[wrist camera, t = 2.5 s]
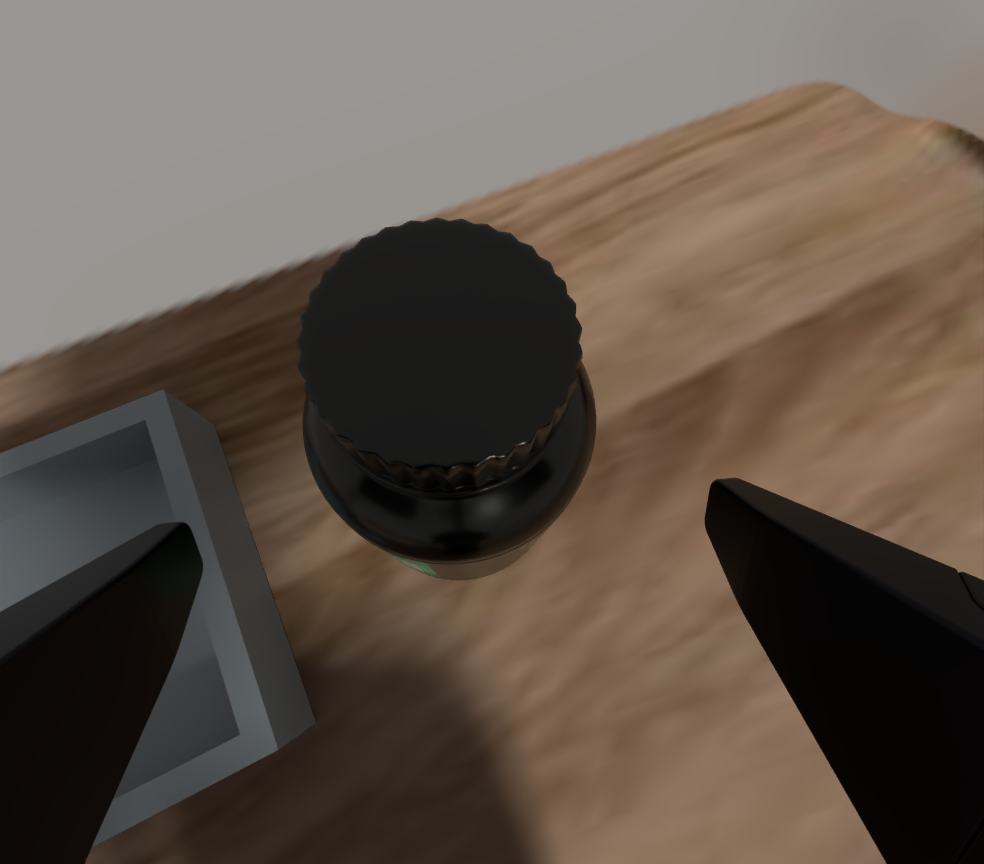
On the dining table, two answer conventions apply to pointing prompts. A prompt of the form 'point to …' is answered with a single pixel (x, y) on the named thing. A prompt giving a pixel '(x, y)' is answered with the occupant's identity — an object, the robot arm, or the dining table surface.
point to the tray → (218, 602)
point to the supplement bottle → (445, 395)
